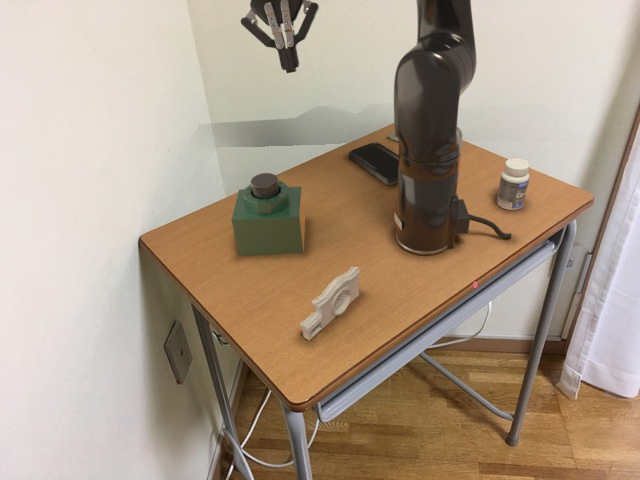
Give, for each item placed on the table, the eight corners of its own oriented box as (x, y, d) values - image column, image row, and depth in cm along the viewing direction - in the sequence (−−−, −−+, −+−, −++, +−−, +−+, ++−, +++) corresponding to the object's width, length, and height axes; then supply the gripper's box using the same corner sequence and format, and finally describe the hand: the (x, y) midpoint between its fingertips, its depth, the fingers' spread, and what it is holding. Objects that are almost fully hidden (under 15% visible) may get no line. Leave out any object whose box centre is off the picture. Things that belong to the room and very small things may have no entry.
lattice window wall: (309, 343, 72) (306, 314, 68) (300, 337, 73) (296, 308, 69) (362, 295, 79) (361, 265, 75) (352, 290, 80) (351, 261, 76)
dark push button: (280, 185, 87) (278, 172, 86) (278, 199, 84) (276, 186, 82) (254, 186, 87) (252, 173, 86) (251, 201, 84) (249, 187, 82)
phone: (376, 141, 114) (420, 169, 104) (376, 145, 115) (420, 173, 105) (346, 152, 111) (388, 181, 101) (346, 156, 112) (388, 186, 102)
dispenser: (305, 221, 95) (300, 174, 88) (303, 253, 88) (298, 204, 81) (245, 224, 95) (236, 178, 89) (239, 256, 88) (228, 208, 82)
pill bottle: (517, 213, 92) (526, 173, 87) (492, 206, 94) (498, 165, 89) (527, 201, 95) (536, 160, 90) (502, 193, 97) (509, 154, 92)
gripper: (219, -40, 75) (248, 82, 82) (308, -61, 74) (330, 65, 80) (231, -34, 82) (256, 77, 89) (312, -53, 81) (332, 62, 87)
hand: (291, 72), depth 84 cm, fingers closed
